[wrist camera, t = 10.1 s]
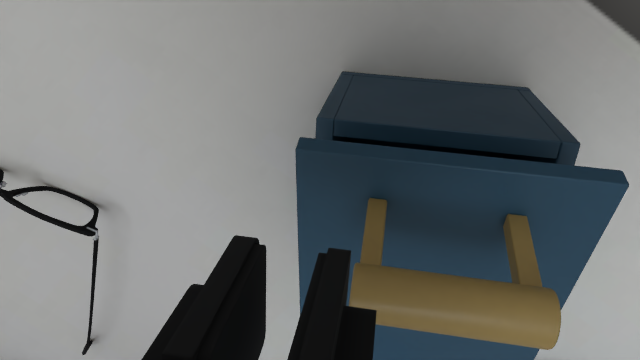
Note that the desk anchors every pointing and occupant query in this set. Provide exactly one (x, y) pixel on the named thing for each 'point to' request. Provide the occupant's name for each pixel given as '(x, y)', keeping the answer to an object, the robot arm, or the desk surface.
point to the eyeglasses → (85, 230)
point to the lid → (452, 243)
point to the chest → (444, 118)
